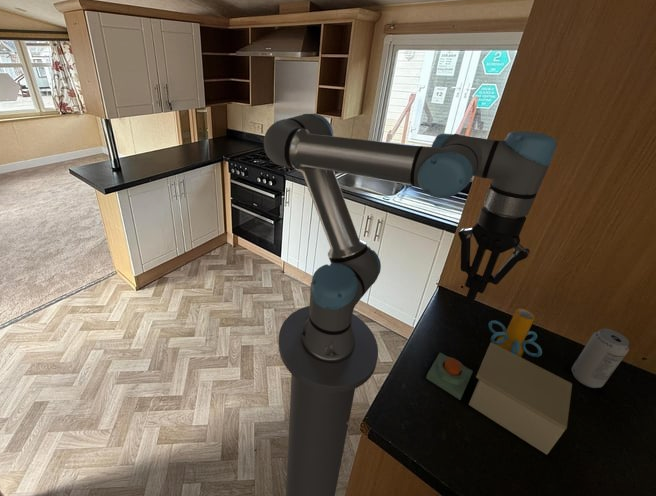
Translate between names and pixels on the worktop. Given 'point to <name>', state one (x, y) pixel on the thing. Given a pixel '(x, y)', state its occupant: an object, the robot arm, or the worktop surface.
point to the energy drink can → (600, 358)
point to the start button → (452, 366)
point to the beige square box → (515, 417)
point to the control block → (449, 377)
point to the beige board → (527, 384)
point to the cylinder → (516, 333)
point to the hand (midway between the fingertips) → (470, 299)
